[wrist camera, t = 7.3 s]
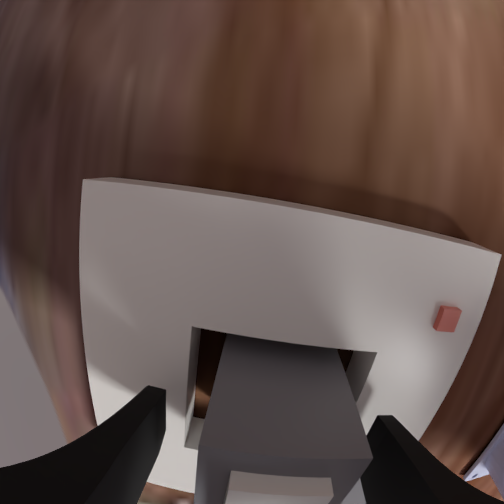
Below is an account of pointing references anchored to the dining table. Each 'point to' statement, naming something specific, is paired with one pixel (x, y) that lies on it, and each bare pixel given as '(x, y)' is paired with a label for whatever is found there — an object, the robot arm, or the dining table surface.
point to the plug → (279, 427)
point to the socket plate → (267, 300)
